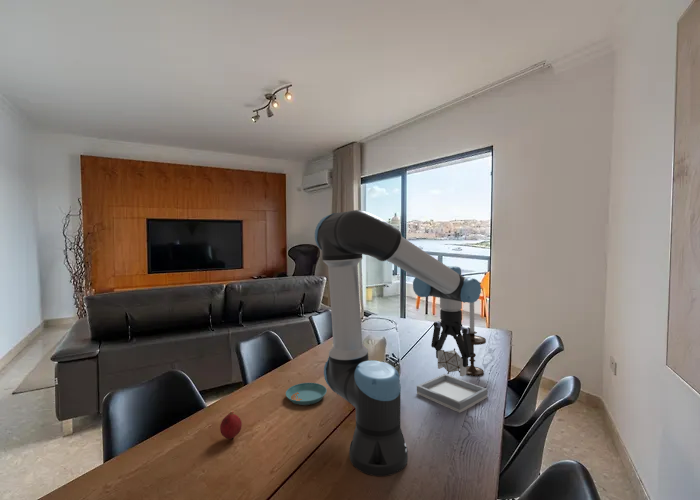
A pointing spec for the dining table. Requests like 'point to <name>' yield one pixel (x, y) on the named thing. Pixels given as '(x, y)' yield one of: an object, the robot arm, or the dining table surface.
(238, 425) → the onion
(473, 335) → the candlestick
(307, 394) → the saucer
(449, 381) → the tray
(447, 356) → the game die
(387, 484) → the dining table surface
